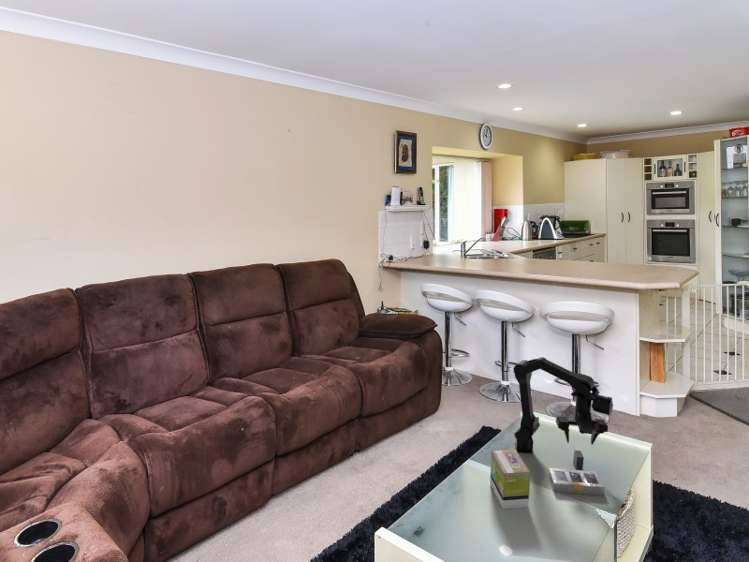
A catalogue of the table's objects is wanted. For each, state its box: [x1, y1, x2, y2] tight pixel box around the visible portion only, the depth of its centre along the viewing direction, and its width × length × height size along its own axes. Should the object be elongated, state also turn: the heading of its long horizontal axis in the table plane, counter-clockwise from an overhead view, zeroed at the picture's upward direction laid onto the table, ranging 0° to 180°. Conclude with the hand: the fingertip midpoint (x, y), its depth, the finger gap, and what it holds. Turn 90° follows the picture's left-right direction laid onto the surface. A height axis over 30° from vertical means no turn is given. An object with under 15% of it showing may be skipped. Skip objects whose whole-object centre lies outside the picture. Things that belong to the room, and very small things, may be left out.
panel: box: [572, 449, 585, 471], centre depth 204 cm, size 2×5×6 cm, turn 172°
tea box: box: [489, 448, 531, 510], centre depth 185 cm, size 15×10×15 cm, turn 5°
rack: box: [547, 467, 605, 496], centre depth 192 cm, size 18×10×4 cm, turn 82°
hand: (579, 443), depth 203 cm, fingers open, 9 cm apart
